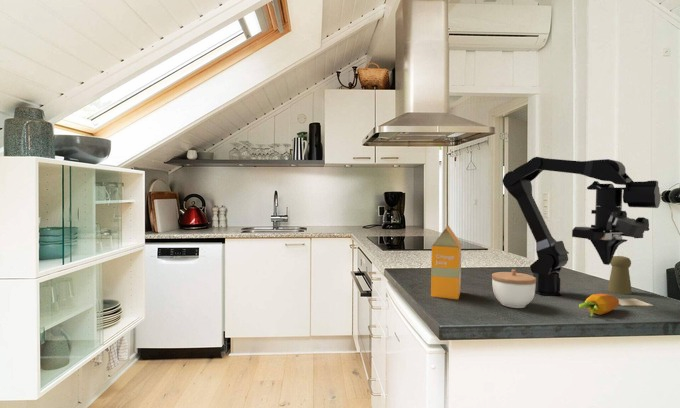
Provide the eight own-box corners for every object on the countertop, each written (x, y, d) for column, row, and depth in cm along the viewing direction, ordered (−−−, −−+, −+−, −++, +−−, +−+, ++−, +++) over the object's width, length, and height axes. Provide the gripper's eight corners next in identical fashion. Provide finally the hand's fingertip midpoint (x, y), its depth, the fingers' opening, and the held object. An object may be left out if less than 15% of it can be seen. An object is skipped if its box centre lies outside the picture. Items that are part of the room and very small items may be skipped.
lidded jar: (483, 300, 103) (484, 266, 102) (517, 298, 105) (518, 265, 104) (507, 311, 92) (508, 274, 92) (545, 309, 94) (546, 273, 94)
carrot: (631, 298, 93) (600, 304, 86) (622, 314, 95) (591, 321, 88) (611, 286, 97) (580, 292, 90) (602, 302, 99) (571, 308, 92)
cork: (623, 289, 116) (624, 255, 116) (636, 294, 110) (638, 258, 110) (603, 289, 117) (603, 254, 117) (615, 294, 111) (616, 257, 111)
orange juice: (430, 296, 106) (431, 227, 105) (434, 289, 114) (435, 225, 114) (458, 299, 103) (460, 228, 102) (461, 292, 111) (462, 226, 111)
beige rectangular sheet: (623, 305, 98) (623, 304, 98) (606, 299, 104) (606, 298, 104) (652, 306, 98) (652, 305, 98) (634, 299, 104) (634, 298, 104)
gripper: (612, 207, 88) (610, 272, 89) (666, 208, 94) (664, 268, 94) (571, 206, 99) (569, 263, 99) (622, 206, 104) (620, 261, 105)
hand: (606, 264), depth 99 cm, fingers closed
